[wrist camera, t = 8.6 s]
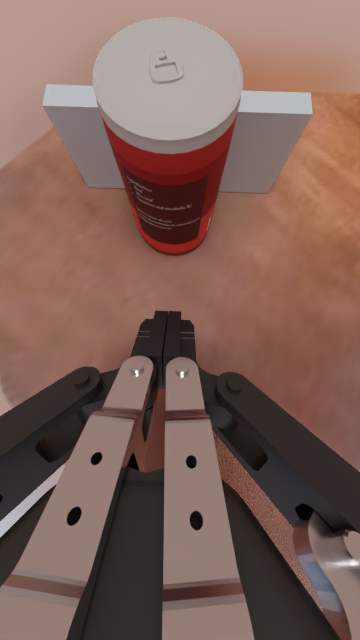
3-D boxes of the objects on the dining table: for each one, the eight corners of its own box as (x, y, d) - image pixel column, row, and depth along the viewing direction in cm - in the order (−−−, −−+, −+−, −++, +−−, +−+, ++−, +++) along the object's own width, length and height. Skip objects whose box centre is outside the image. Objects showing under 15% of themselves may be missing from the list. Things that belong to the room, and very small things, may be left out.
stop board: (265, 140, 22) (305, 43, 15) (267, 193, 21) (312, 114, 14) (94, 135, 22) (55, 35, 15) (88, 187, 21) (42, 105, 14)
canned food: (186, 179, 21) (194, -5, 10) (223, 236, 20) (277, 98, 9) (125, 209, 20) (63, 47, 9) (160, 269, 19) (135, 165, 8)
